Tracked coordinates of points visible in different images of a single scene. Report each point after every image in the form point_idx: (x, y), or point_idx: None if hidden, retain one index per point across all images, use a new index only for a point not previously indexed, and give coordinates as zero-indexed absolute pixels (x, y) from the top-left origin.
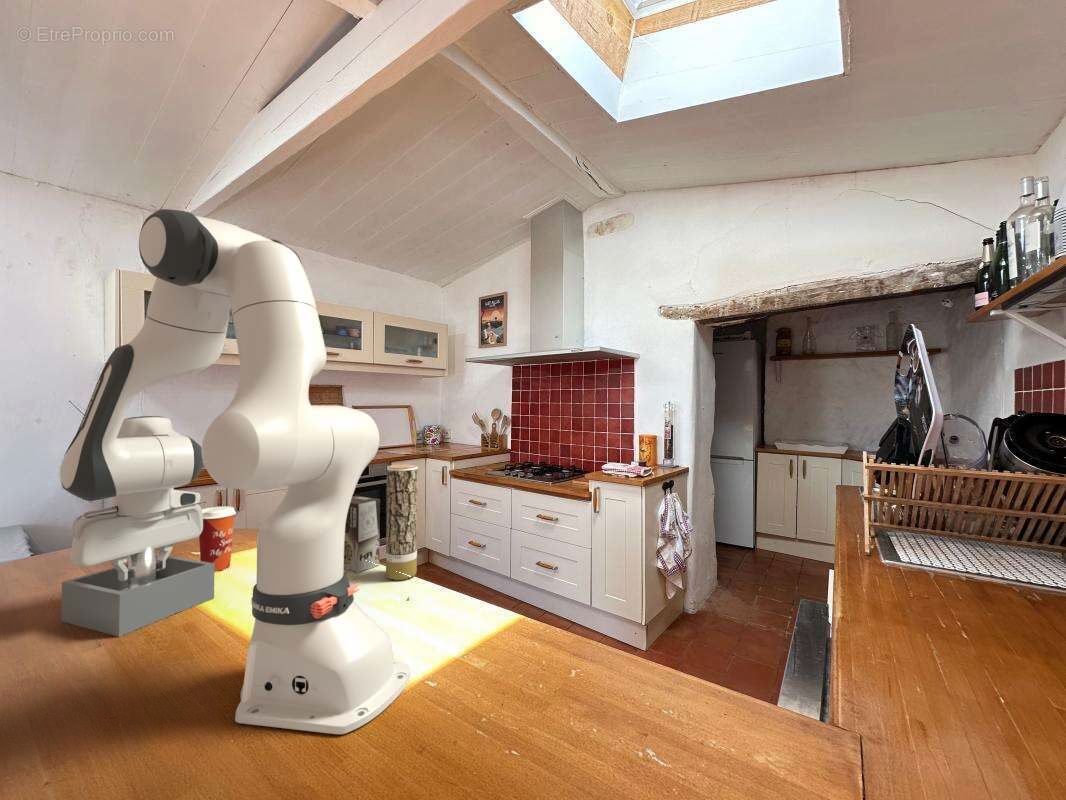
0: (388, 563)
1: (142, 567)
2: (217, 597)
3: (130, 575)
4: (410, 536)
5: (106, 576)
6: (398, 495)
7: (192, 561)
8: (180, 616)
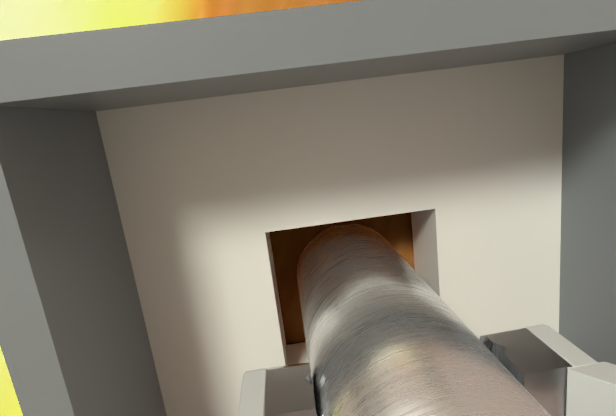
0: None
1: (474, 349)
2: None
3: (519, 340)
4: None
5: None
6: None
7: (33, 326)
8: (302, 6)
